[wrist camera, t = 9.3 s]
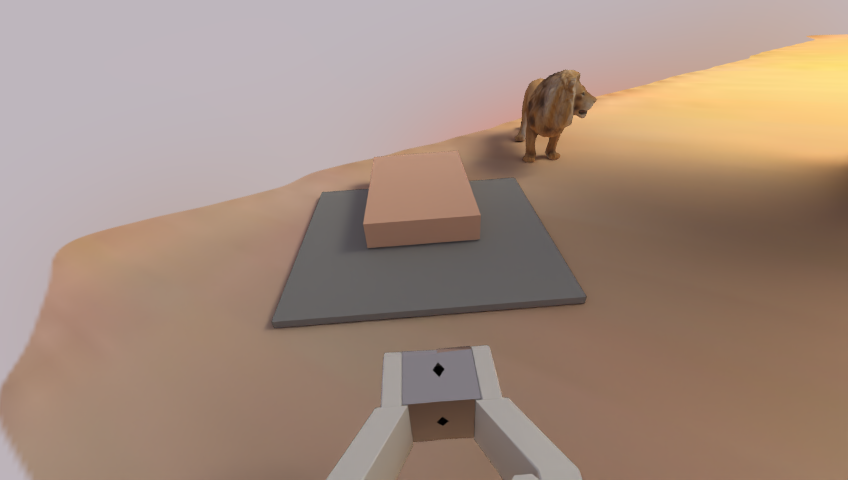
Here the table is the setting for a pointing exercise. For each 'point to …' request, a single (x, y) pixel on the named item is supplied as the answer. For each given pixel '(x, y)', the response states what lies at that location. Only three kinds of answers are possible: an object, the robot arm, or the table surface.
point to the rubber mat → (424, 265)
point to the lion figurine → (552, 110)
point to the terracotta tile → (420, 201)
